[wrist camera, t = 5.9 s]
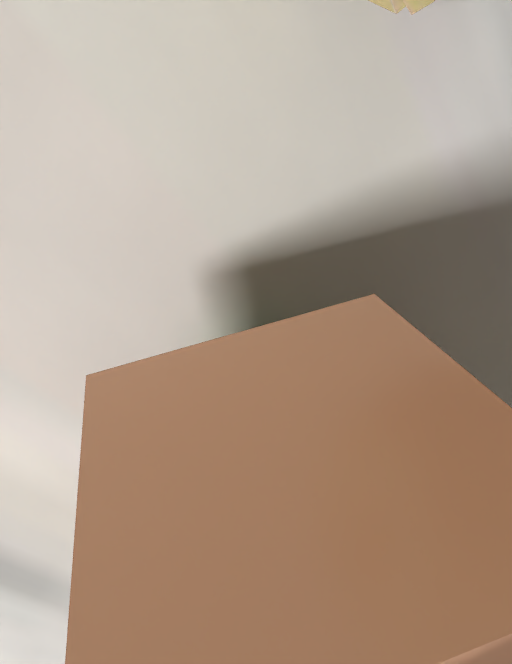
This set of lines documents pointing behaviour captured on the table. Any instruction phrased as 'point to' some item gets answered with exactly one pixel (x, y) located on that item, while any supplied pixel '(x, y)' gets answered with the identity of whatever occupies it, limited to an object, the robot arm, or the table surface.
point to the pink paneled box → (294, 502)
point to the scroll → (403, 4)
